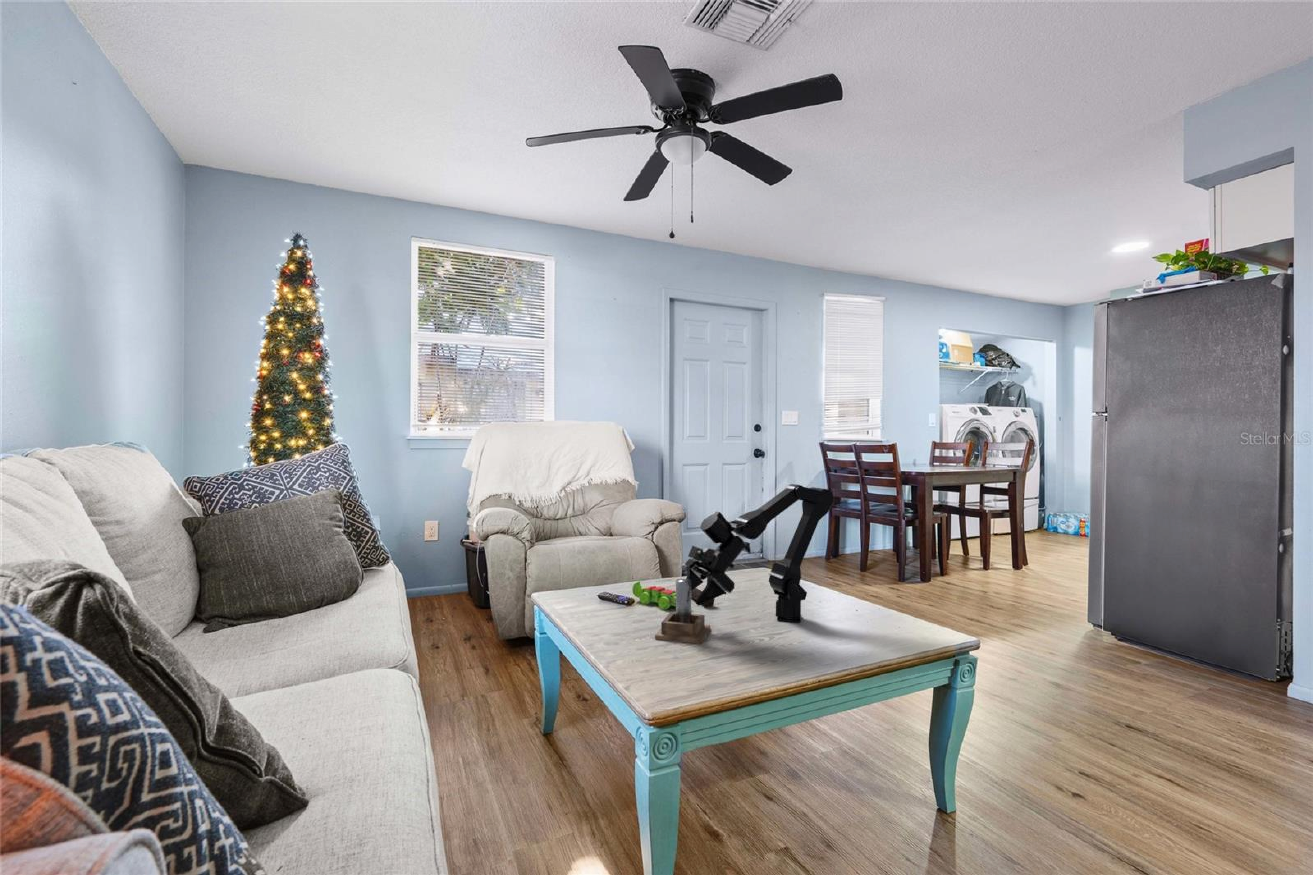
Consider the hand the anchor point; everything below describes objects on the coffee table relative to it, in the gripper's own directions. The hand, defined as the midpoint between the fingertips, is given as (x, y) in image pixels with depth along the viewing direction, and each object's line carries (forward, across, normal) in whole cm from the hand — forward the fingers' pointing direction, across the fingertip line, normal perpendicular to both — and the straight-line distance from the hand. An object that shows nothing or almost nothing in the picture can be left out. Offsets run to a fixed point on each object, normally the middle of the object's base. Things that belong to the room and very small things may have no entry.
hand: (689, 599), depth 158 cm
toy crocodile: (+4, -27, +9) cm, 29 cm away
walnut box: (+7, 0, +5) cm, 9 cm away
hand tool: (-4, -28, +17) cm, 33 cm away
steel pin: (+7, 0, +4) cm, 8 cm away
